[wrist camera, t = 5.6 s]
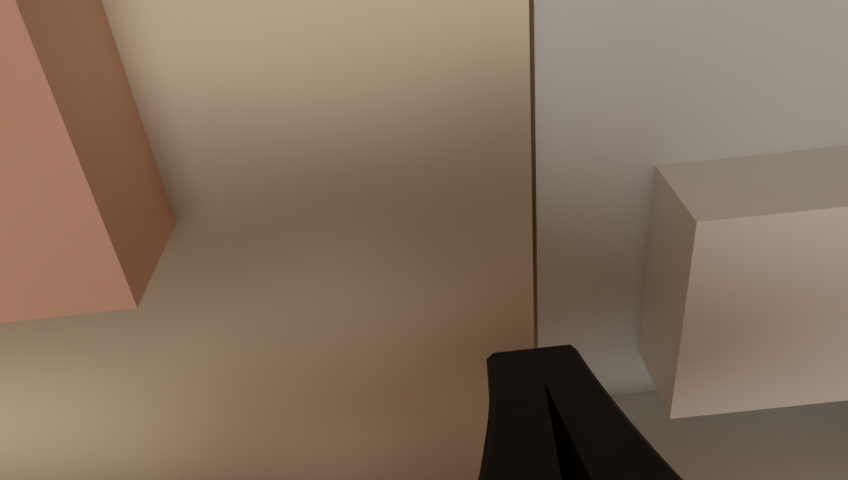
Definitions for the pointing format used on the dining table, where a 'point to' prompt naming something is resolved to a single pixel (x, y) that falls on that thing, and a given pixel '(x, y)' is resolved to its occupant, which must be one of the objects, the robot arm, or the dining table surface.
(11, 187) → the terracotta tile
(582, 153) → the tray
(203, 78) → the birch board
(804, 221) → the white tile
